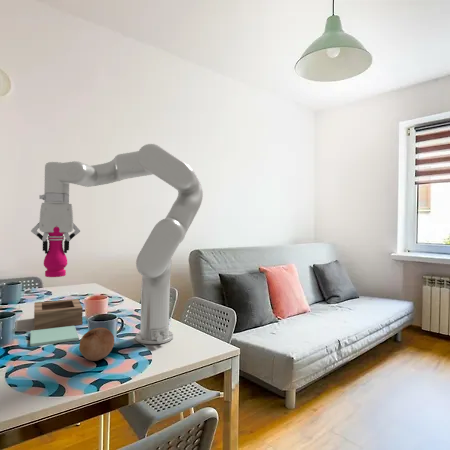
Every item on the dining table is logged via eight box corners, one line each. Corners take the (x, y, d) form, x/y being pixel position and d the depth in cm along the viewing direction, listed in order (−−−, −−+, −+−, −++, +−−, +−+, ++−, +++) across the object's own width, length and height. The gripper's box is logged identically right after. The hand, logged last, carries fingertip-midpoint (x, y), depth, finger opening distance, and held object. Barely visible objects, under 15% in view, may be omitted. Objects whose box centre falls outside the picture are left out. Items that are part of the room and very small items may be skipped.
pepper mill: (57, 278, 110) (58, 216, 110) (38, 276, 112) (39, 216, 111) (71, 274, 117) (72, 217, 117) (53, 273, 119) (54, 216, 119)
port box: (82, 324, 128) (82, 307, 128) (33, 330, 121) (34, 312, 120) (77, 313, 142) (78, 298, 142) (34, 318, 135) (34, 302, 134)
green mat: (78, 339, 112) (78, 337, 112) (30, 346, 105) (30, 344, 105) (74, 327, 124) (74, 325, 124) (30, 333, 117) (30, 330, 117)
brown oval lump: (89, 374, 94) (78, 348, 90) (82, 354, 101) (71, 329, 97) (122, 356, 99) (113, 331, 94) (112, 338, 106) (103, 314, 101)
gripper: (27, 197, 107) (26, 254, 107) (85, 200, 115) (84, 253, 115) (27, 198, 113) (26, 252, 114) (82, 201, 122) (81, 251, 122)
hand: (55, 252), depth 114 cm, fingers closed on pepper mill, 5 cm apart
